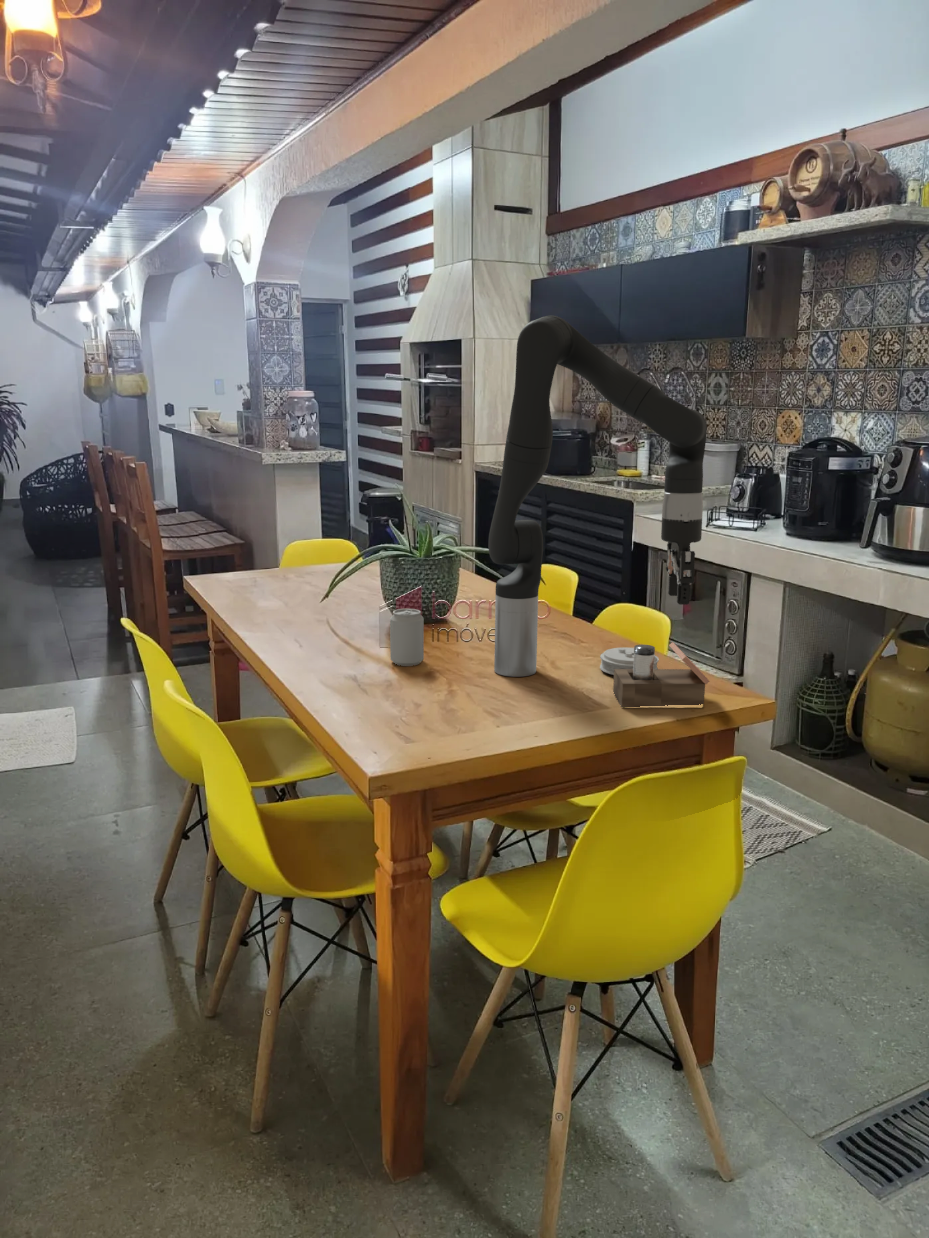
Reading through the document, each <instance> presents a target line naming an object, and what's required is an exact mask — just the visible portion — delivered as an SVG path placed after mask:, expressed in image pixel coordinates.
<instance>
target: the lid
mask: <svg viewBox="0 0 929 1238" xmlns="http://www.w3.org/2000/svg"><path fill="white" fill-rule="evenodd" d="M599 658H600V660H601V663H600V665H599V669H600V670H601V671H602V672H603V673H606V674H609V675H613V676H614V669H633V663H634V647H613V648H608V649H606V650H605V651H604V652H602V653H601V654H600V656H599ZM659 660H660V659H659V656H657V655H654V669H659V668H658V662H659Z"/></svg>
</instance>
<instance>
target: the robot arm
mask: <svg viewBox="0 0 929 1238" xmlns="http://www.w3.org/2000/svg"><path fill="white" fill-rule="evenodd" d="M515 356H516V357H515V375H514V376H515V380H514V381H515V383H514V391H513V398H512V403H511V409H510V416H509V422H508V427H507V434H506V437H505V438H506V439H505V445H504V452H503V462H502V469H501V476H500V477H501V478H500V483H499V490H498V495H497V498H496V503H495V507H494V511H493V515H492V519H491V524H490V528H489V533H488V547H487V548H488V553H489V558H490V559H491V561H492V562H493V563H495V564H497V565H517V567H516V568H515V569H514V570H513V571H512V572H510V573H509V574H508V575H506V576H504V577H501V578H500V579H498V580H497V581H496V583H495V598H494V599H495V603H494V605H495V611H494V612H495V613H494V615H495V616H494V617H495V618H494V619H495V620H494V663H493V664H494V672H495V673H496V674H498V675H500V676H505V677H512V678H513V677H518V678H519V677H528V676H532V675H535V674H536V673H537V659H538V658H537V656H538V655H537V654H538V623H539V622H538V620H539V619H538V617H539V616H538V613H539V589H540V588H539V587H540V585H541V581H542V565H543V554H544V533H543V530H542V527H541V526H540V524H539V523H538V522H537V521H536V520H534V519H520V520H519V519H518V520H517V515H518V513H519V510H520V508H521V506H522V504H523V502H524V500H525V499H526V498H527V496H528V495H529V493H530V492H531V491H532V490H533V489H534V488H535V486H537V484H538V482H539V481H540V480H541V478H542V477H543V476H544V474H545V473H546V471H547V470H548V469H547V468H548V465H549V463H550V462H549V461H550V457H551V450H552V447H553V436H554V434H553V433H554V428H553V419H552V414H551V406H550V404H551V403H550V400H551V399H550V398H551V391H552V390H551V389H552V385H553V381H554V375H555V371H556V368H557V365H558V366H560V367H563V368H566V369H568V370H570V371H572V372H574V373H576V374H578V375H579V376H581V377H582V378H583V379H585V380H586V381H588V382H589V384H591V385H592V386H593V388H594V389H596V390H597V391H598V392H599V394H601V396H602V397H603V398H604V399H605V400H606V401H608V402H609V403H610V404H611V405H612V406H614V407H615V408H617V409H618V410H620V411H622V412H623V413H624V414H626V415H628V416H630V417H631V418H632V419H634V420H636V421H637V422H640V423H642V424H643V425H646V426H647V427H648V428H649V429H651V430H652V431H653V432H654V433H656V434H657V435H659V436H660V437H661V438H662V439H664V440H665V441H667V442H668V443H669V445H668V446H669V447H668V462H667V464H666V467H665V473H664V493H663V499H662V509H661V510H662V511H661V528H660V529H661V534H660V535H661V536H660V538H661V541H663V542H665V543H666V542H667V543H666V546H667V547H666V549H667V550H666V566H665V570H666V573H667V576H668V587H667V589H668V591H667V594H668V595H669V597H670V596H671V597H676V603H677V605H685V606H687V605H688V604H690V595H691V593H690V592H691V585H692V584H694V583H695V561H696V559H695V558H696V557H695V556H696V553H695V551H693V550H691V544H692V543H699V542H700V541H701V540H702V534H703V533H702V530H703V529H702V528H703V514H704V513H703V511H704V501H703V482H704V481H703V478H704V470H703V469H704V458H705V457H704V456H705V452H706V451H705V450H706V443H707V431H708V430H707V429H708V426H707V422H706V418H705V417H704V415H703V414H702V413H701V412H700V411H698V410H696V409H693V408H689V407H687V406H685V405H684V404H682V403H681V402H678V401H676V400H675V399H673V398H671V397H670V396H667V395H666V394H665V391H663V390H661V389H660V388H659V387H657V386H656V385H654V384H653V383H651V382H650V381H648V380H646V379H645V378H643V377H641V376H640V375H638V374H637V373H634V372H633V371H631V370H629V369H628V368H626V367H625V366H623V365H622V364H620V363H619V362H618V361H616V360H614V359H613V358H611V357H610V356H608V355H607V354H606V353H605V352H603V351H602V350H601V349H600V348H598V347H596V345H594V344H593V343H592V342H590V340H588V339H587V338H586V337H585V336H584V335H582V333H581V332H579V331H578V330H577V329H576V328H575V327H574V326H572V325H571V324H570V323H569V322H568V321H566V320H565V319H564V318H562V317H560V316H557V315H546V316H545V315H544V316H542V317H539V318H537V319H535V320H531V321H530V322H528V323H526V325H525V326H523V328H522V329H521V331H520V333H519V335H518V338H517V344H516V353H515ZM685 575H686V576H685Z"/></svg>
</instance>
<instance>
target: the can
mask: <svg viewBox="0 0 929 1238" xmlns="http://www.w3.org/2000/svg"><path fill="white" fill-rule="evenodd" d="M392 613H393V615H391V616H390V618H389V625H390V627H389V630H390V631H389V632H390V634H389V635H390V638H389V639H390V640H389V641H390V642H389V643H390V651H389V652H390V660H391V661H392V662H393V664H394V663H395V664H394V665H396V664H397V666H400V665H401V666H400V667H413V665H414V666H417V665H419V664H420V663H421V662H422V661H423V660H424V658H425V657H424V648H425V647H424V643H425V642H424V640H425V639H424V638H425V637H424V634H425V633H424V631H425V629H424V628H425V627H424V626H425V625H424V619H425V618H424V617H423V616H422V615H421V613H422V612H421V610H419V609H415V608H398V609H395V610H393V611H392Z"/></svg>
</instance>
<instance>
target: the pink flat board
mask: <svg viewBox="0 0 929 1238" xmlns="http://www.w3.org/2000/svg"><path fill="white" fill-rule="evenodd" d="M668 646H669V647H670V648H671V650H673V652H674V653H675V654H676V655H677V656H678V657H679V659H680V660H681V661H682V662H683V663H685V665H686V666H688V669H691V670H692V671H693V672H694V673H695V674H696V675H697V676H698V677H699V678H700V679H701V680H702V681H703V682H704V683H705V685H708V683H709V682H710V680H709V678H708V677H706V674H704V673H703V672H702V671H701V670H700V669H699V668H698V666H696V664H695V663H694V662H693V661H692V660H691V659H690V658H689V657H688V656H687V655H686V654H685V653H684V652H683V651H682V650H681V649H680V648H679V646H678V645H676V643H674V642H673V641H672V642H671V643H670V644H669V645H668Z"/></svg>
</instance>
